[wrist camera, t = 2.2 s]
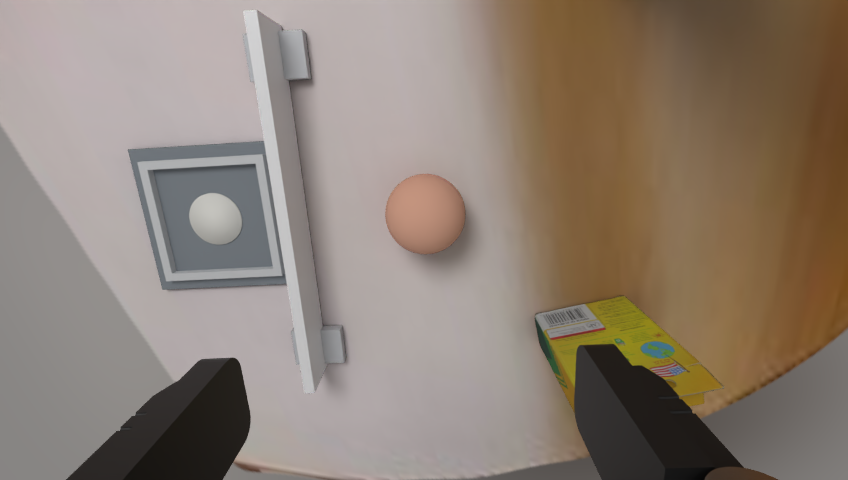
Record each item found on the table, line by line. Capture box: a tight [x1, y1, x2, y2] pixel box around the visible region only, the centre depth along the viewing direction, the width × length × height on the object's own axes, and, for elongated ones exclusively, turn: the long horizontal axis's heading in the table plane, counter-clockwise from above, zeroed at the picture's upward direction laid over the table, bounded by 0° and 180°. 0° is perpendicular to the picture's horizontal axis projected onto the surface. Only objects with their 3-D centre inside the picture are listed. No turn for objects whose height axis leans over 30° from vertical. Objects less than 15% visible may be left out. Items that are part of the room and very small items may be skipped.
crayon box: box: [535, 296, 724, 413], centre depth 28 cm, size 7×3×12 cm, turn 103°
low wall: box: [243, 10, 346, 393], centre depth 30 cm, size 4×26×4 cm, turn 3°
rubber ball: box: [385, 174, 465, 254], centre depth 28 cm, size 6×6×6 cm
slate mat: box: [128, 141, 287, 290], centre depth 31 cm, size 11×11×1 cm
